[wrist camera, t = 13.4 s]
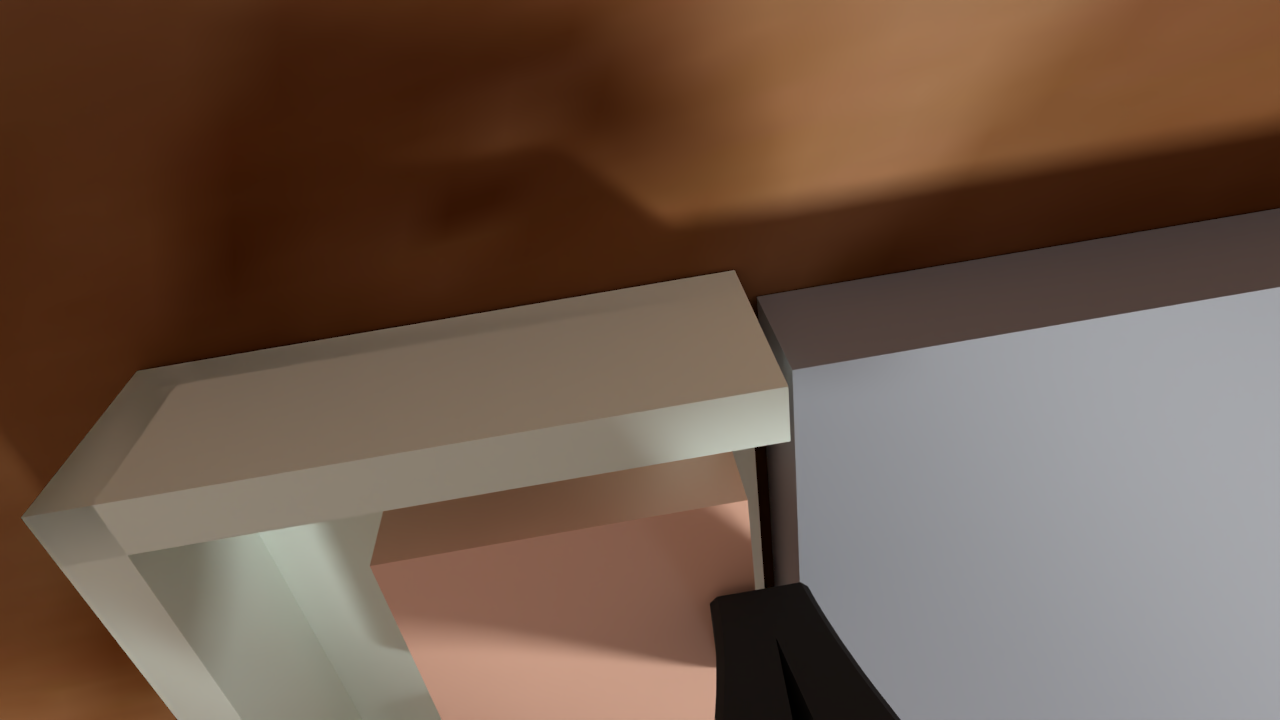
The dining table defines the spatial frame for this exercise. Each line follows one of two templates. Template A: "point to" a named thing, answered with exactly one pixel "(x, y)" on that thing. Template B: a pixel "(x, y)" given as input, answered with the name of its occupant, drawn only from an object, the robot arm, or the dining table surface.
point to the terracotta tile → (571, 592)
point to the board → (1044, 476)
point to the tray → (375, 479)
